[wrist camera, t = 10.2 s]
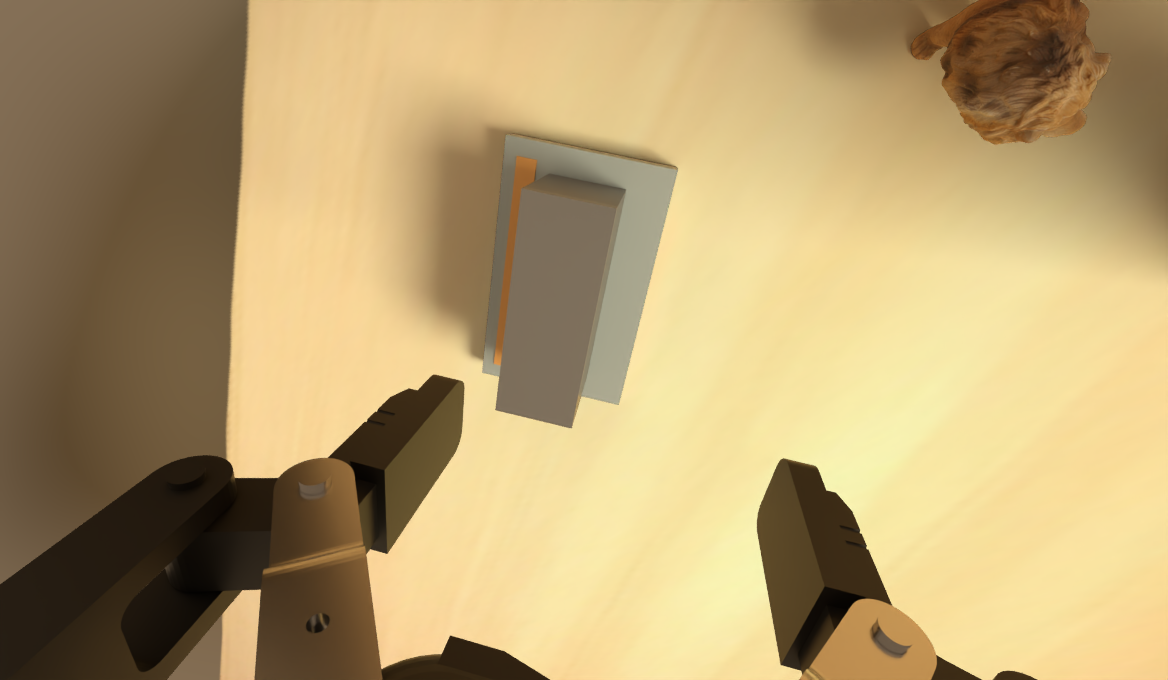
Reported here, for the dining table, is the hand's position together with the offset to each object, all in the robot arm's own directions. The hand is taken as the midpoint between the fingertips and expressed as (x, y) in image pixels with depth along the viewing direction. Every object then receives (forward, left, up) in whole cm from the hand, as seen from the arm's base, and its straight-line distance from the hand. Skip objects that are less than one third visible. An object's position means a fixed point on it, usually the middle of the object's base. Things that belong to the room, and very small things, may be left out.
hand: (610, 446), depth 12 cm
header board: (+4, +3, -21) cm, 21 cm away
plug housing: (+4, +3, -19) cm, 20 cm away
